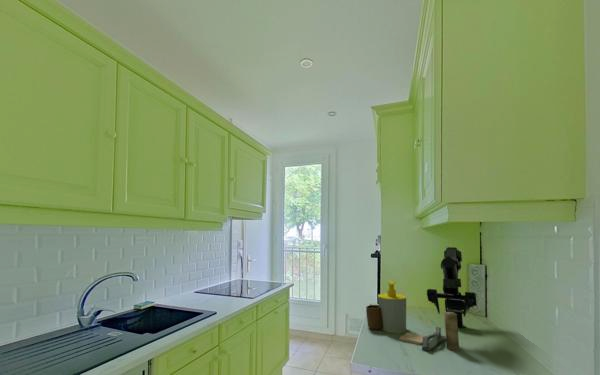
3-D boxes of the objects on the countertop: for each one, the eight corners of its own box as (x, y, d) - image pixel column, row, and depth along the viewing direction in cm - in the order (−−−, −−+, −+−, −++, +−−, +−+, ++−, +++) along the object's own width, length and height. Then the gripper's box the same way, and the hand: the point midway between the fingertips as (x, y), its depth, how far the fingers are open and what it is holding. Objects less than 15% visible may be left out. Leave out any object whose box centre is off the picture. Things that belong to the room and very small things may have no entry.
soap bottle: (380, 332, 138) (378, 283, 141) (378, 323, 151) (376, 279, 154) (410, 333, 136) (407, 284, 139) (405, 325, 148) (403, 280, 151)
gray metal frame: (437, 337, 131) (437, 326, 132) (446, 339, 129) (445, 327, 129) (422, 350, 117) (421, 337, 117) (431, 352, 115) (430, 339, 115)
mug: (364, 323, 152) (362, 303, 153) (379, 322, 152) (377, 302, 153) (370, 330, 140) (367, 309, 141) (386, 329, 140) (384, 307, 142)
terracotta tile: (407, 334, 134) (407, 332, 135) (429, 339, 129) (428, 336, 129) (399, 340, 128) (399, 337, 128) (421, 345, 122) (421, 342, 122)
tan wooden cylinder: (444, 346, 121) (442, 311, 123) (456, 346, 120) (453, 312, 122) (449, 350, 116) (446, 314, 118) (461, 350, 116) (458, 314, 118)
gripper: (425, 269, 136) (424, 300, 124) (474, 272, 127) (476, 305, 116) (429, 285, 141) (427, 316, 130) (475, 289, 132) (478, 322, 121)
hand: (451, 314), depth 124 cm, fingers open, 9 cm apart
